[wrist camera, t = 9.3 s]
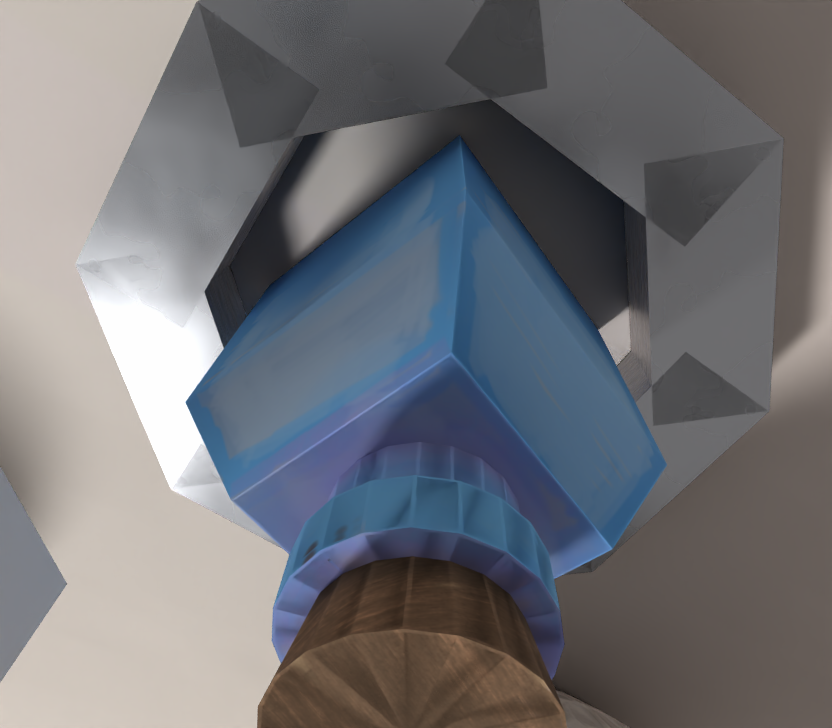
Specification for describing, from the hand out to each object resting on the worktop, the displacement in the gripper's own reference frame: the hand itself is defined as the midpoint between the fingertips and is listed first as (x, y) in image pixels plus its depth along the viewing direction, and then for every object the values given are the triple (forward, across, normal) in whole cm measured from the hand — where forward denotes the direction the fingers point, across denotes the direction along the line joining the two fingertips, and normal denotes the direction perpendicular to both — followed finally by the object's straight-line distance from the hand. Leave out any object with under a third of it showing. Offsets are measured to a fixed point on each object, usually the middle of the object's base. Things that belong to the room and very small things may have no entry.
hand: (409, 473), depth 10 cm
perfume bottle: (+8, 0, 0) cm, 8 cm away
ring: (+8, 0, 0) cm, 8 cm away
